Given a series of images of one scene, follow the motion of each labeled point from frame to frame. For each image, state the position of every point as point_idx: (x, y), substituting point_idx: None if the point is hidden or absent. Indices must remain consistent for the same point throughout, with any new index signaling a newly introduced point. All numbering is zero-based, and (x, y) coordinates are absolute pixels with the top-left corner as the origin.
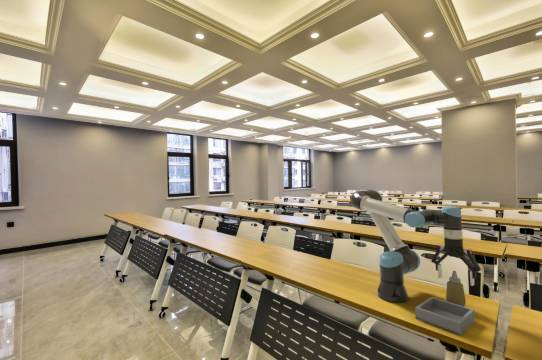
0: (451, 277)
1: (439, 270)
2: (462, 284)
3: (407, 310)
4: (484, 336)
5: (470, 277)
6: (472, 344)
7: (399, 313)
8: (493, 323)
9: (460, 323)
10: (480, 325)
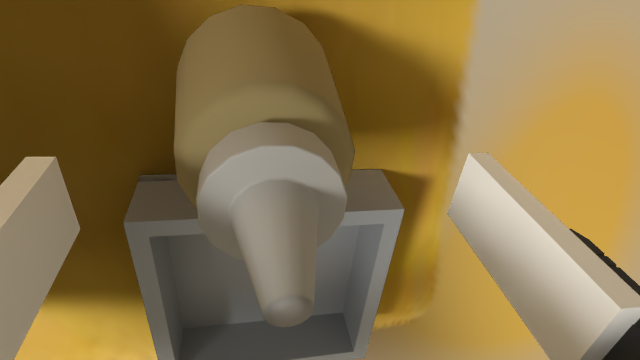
0: (234, 230)
1: (24, 336)
2: (347, 139)
3: (91, 304)
4: (419, 260)
5: (505, 290)
6: (388, 324)
7: (94, 346)
8: (459, 124)
9: (364, 352)
10: (405, 191)
